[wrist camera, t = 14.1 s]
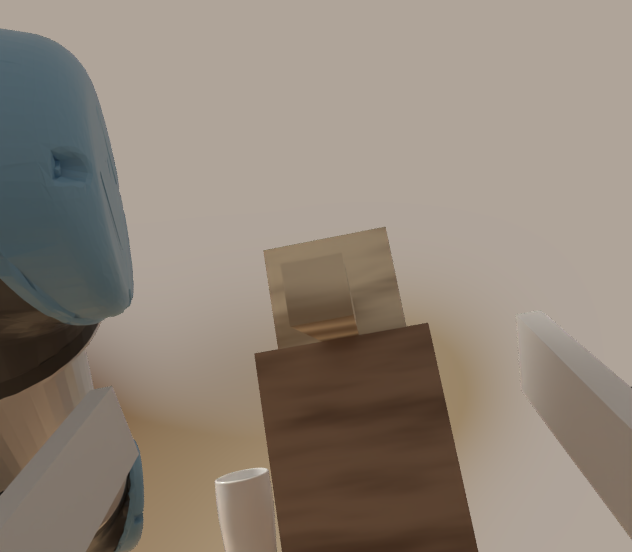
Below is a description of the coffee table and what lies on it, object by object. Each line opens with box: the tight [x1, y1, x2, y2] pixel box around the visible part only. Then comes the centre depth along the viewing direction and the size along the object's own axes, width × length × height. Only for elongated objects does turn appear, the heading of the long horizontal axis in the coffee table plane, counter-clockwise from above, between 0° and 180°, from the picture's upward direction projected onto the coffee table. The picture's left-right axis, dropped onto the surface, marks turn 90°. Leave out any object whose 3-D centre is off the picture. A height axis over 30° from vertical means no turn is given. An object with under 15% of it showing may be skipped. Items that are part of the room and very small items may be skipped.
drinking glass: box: [215, 468, 277, 552], centre depth 55 cm, size 7×7×15 cm
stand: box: [255, 323, 478, 552], centre depth 43 cm, size 19×14×28 cm
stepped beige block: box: [264, 227, 406, 349], centre depth 34 cm, size 25×11×9 cm, turn 174°
